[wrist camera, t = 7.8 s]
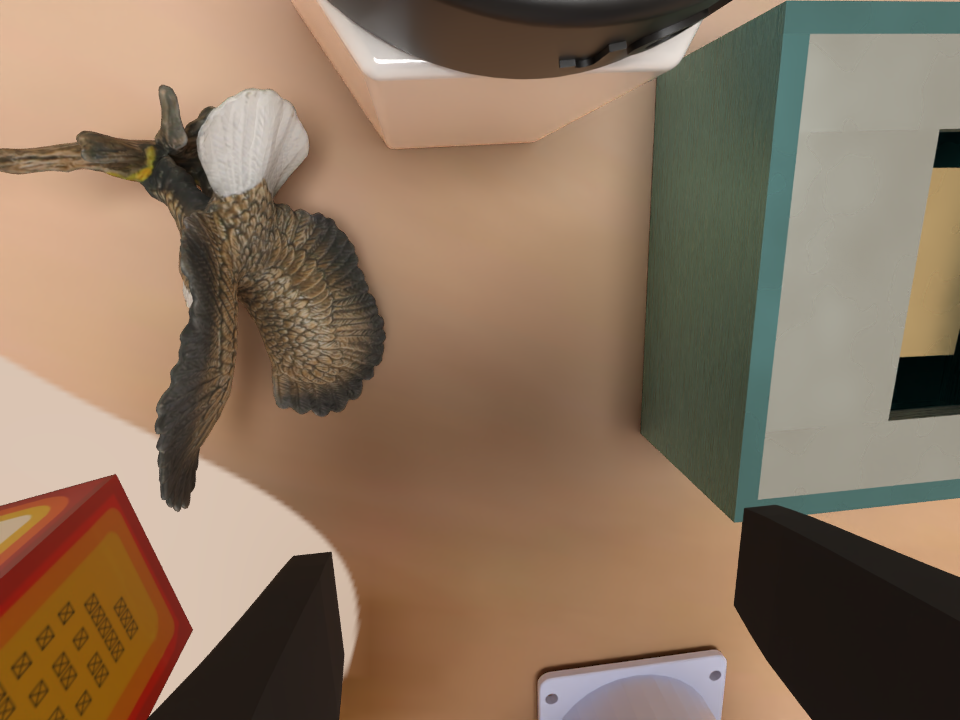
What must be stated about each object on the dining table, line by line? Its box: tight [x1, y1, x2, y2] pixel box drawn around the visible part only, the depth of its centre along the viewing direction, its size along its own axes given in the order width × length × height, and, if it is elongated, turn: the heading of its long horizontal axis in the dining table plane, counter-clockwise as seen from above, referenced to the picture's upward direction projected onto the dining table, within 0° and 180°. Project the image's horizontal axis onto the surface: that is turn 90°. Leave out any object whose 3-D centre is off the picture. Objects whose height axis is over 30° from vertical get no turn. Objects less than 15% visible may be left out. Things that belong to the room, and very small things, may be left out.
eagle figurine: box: [0, 85, 386, 512], centre depth 14 cm, size 8×7×9 cm
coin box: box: [641, 1, 960, 522], centre depth 16 cm, size 12×12×6 cm
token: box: [900, 168, 960, 357], centre depth 17 cm, size 5×2×4 cm, turn 0°
